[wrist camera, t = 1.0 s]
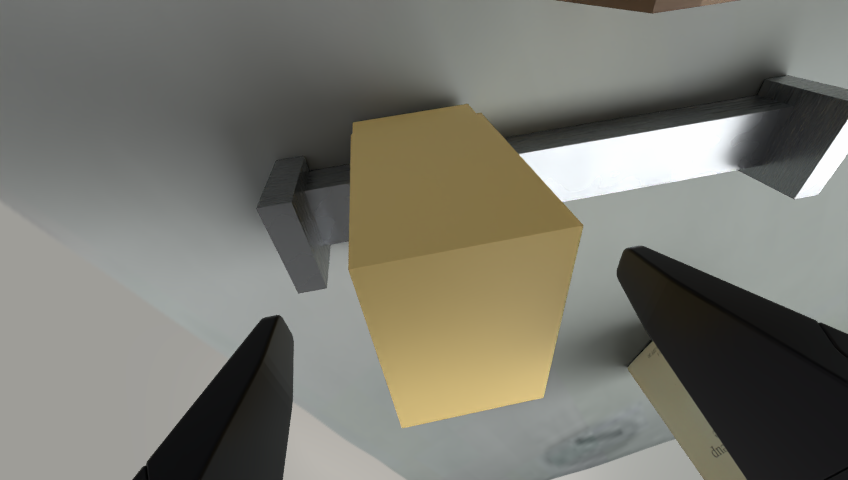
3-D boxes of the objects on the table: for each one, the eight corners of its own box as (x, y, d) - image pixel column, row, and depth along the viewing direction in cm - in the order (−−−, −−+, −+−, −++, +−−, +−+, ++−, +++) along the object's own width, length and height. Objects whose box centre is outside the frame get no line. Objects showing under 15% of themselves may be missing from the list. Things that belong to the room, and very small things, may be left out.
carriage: (467, 97, 12) (583, 225, 6) (470, 235, 15) (543, 397, 10) (351, 116, 11) (348, 269, 6) (383, 251, 15) (402, 428, 9)
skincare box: (671, 315, 23) (893, 555, 14) (722, 315, 24) (962, 537, 15) (623, 369, 27) (772, 587, 17) (669, 366, 28) (833, 571, 18)
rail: (788, 75, 13) (886, 98, 11) (744, 159, 16) (817, 194, 13) (276, 160, 12) (256, 208, 10) (307, 238, 15) (298, 293, 12)
